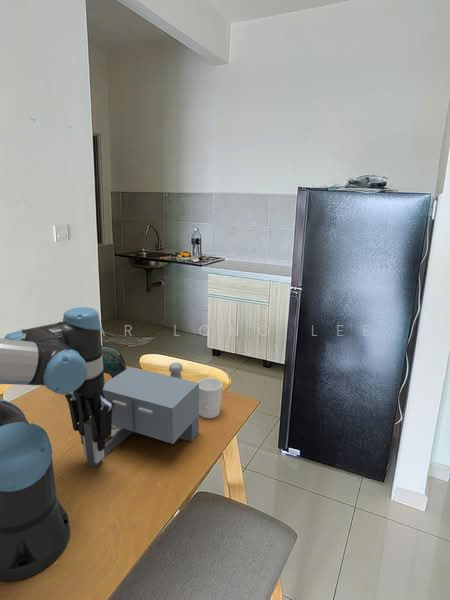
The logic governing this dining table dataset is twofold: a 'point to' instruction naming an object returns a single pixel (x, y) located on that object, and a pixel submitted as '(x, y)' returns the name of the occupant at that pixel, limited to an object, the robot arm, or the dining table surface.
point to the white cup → (209, 397)
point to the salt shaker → (175, 370)
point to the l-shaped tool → (108, 446)
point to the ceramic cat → (112, 361)
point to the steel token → (115, 430)
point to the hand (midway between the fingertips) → (94, 457)
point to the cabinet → (154, 404)
